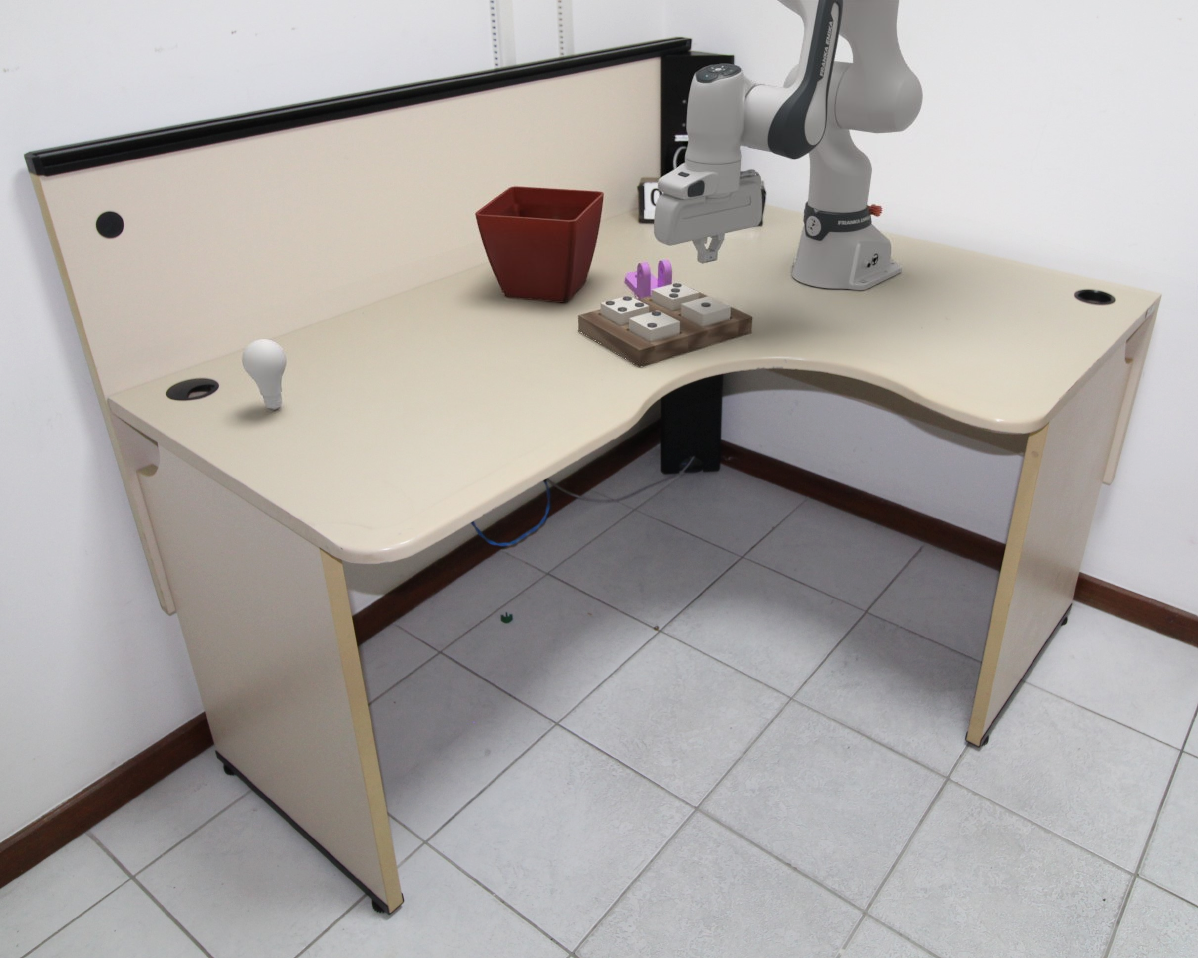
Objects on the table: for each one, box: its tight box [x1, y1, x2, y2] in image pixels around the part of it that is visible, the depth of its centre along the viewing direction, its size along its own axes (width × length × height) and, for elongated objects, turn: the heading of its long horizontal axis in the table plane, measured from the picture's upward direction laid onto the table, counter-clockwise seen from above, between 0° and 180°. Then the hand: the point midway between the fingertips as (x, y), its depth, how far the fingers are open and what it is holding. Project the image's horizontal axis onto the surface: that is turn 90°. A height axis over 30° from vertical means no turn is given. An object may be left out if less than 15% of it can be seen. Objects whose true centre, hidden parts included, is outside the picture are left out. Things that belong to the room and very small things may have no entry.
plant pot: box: [474, 185, 605, 303], centre depth 180 cm, size 19×19×17 cm
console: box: [577, 286, 754, 368], centre depth 166 cm, size 24×18×3 cm
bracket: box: [624, 259, 673, 299], centre depth 183 cm, size 13×6×7 cm, turn 17°
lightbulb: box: [241, 338, 287, 411], centre depth 140 cm, size 6×6×11 cm
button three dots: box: [651, 282, 700, 312], centre depth 170 cm, size 6×6×3 cm
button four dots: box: [600, 295, 649, 326], centre depth 165 cm, size 6×6×3 cm
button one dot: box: [681, 295, 732, 327], centre depth 164 cm, size 6×6×3 cm
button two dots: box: [629, 310, 680, 343], centre depth 159 cm, size 6×6×3 cm
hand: (707, 261), depth 159 cm, fingers closed
